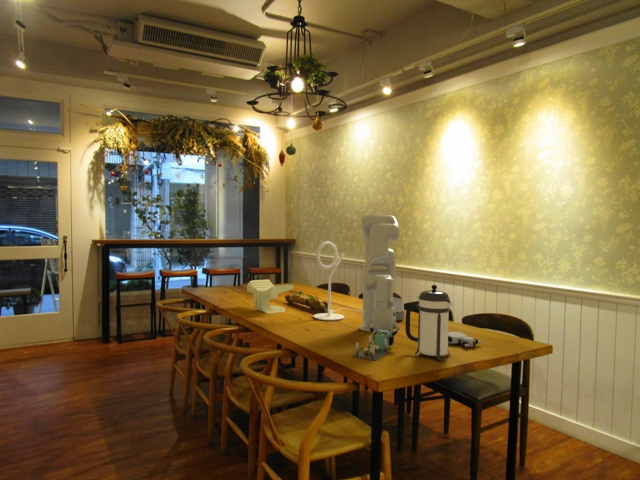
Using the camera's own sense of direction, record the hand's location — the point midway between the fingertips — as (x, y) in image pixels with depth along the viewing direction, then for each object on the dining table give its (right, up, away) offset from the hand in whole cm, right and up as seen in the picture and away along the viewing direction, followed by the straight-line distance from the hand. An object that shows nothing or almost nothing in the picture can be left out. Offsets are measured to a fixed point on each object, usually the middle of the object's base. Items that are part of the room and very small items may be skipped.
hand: (383, 343), depth 199 cm
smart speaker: (+16, 0, +57) cm, 59 cm away
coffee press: (+17, -2, -14) cm, 22 cm away
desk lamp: (-17, +1, +65) cm, 67 cm away
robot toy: (+37, -2, +5) cm, 37 cm away
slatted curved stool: (-60, +2, +78) cm, 99 cm away
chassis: (-7, -1, -13) cm, 15 cm away
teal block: (0, -1, 0) cm, 1 cm away
